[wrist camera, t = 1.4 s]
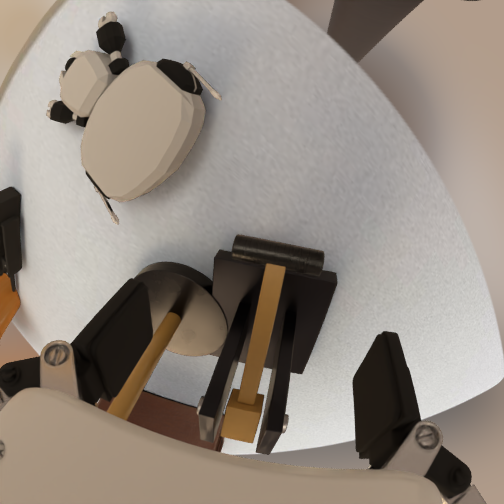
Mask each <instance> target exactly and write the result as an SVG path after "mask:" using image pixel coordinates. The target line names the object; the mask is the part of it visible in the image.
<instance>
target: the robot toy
mask: <svg viewBox="0 0 504 504" xmlns="http://www.w3.org/2000/svg"><path fill="white" fill-rule="evenodd" d="M116 21H117V16H116V14H115V13H114V12H108V13H107V14H106V17H105V16H103V17H102V18H101V19H100V20H99V22H98V27H99V29H98V31H97V32H96V33H97V38H98V43H99V47H100V48H101V49H102V50H104V51H105V52H106V53H108V54H106V53H101V52H96V51H90V50H88V51H85V52H80V51H75V52H74V53H73V54H72V55H71V56H70V57H72V58H70V59H69V60H68V61H67V63H66V66H65V70H66V71H61V74H60V78H59V82H60V86H61V92H60V97H61V99H62V101H57V100H52V101H50V102H49V104H48V107H50V110H47V114H46V115H47V116H48V117H49V118H50V119H51V120H54V121H57V122H61V123H65V124H66V123H69V122H71V121H74V120H76V125H79V126H82V127H86V128H85V131H84V134H83V138H82V143H81V160H82V166H83V167H84V168H85V170H86V175H87V176H88V178H89V179H90V180H91V182H92V183H93V184H94V188H95V190H96V192H99V194H100V196H101V198H102V200H103V202H104V204H105V206H106V207H107V209H108V211H109V213H110V215H111V219H112V221H113V222H114V223H115V224H117V225H118V224H119V219H118V217H117V215H115V214H114V212H113V210H112V208H111V206H110V204H109V202H108V200H107V199H110V198H112V199H114V200H116V201H118V202H124V201H130V200H132V199H134V198H137V197H139V196H141V195H144V194H146V193H148V192H150V191H151V190H153V189H154V188H156V187H157V186H159V185H160V184H161V183H162V182H164V181H165V180H166V179H167V178H168V177H170V176H171V175H172V174H173V173H174V172H175V171H177V170H178V169H179V167H180V166H181V164H182V162H183V161H184V159H185V158H186V156H187V155H188V153H189V152H190V150H191V148H192V147H193V145H194V143H195V141H196V140H197V138H198V136H199V134H200V132H201V129H202V126H203V123H204V117H205V111H206V109H205V107H204V104H203V102H202V99H201V96H200V95H201V93H202V91H203V89H202V87H201V84H200V82H199V80H200V81H201V82H202V83H203V84H204V85H205V86H206V88H207V89H208V90H209V91H210V92H211V94H212V95H213V96H214V97H215V98H217V99H219V100H221V101H222V98H221V95H220V94H219V93H218V92H217V91H215V90H214V89H213V88H212V87H211V86H210V85H209V84H208V83H207V82H206V81H205V80H204V79H203V78H202V77H201V76H200V75H199V74H198V73H197V72H196V71H195V69H196V68H195V67H194V66H193V65H191V64H190V63H188V62H185V63H184V64H181V63H179V62H176V61H172V60H167V59H162V60H160V61H158V62H151V61H144V60H143V61H140V62H138V63H136V64H133V65H131V66H129V62H128V60H127V59H125V58H122V56H121V50H122V48H123V45H124V43H125V40H126V39H125V35H124V31H123V27H122V25H121V24H120V23H119V22H116ZM198 79H199V80H198ZM106 198H107V199H106Z"/></svg>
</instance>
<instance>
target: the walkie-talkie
mask: <svg viewBox="0 0 504 504" xmlns="http://www.w3.org/2000/svg"><path fill="white" fill-rule="evenodd" d="M21 268H22V255H21V242H20V194H19V193H18V192H16V191H15V190H14V189H13V188H12V187H8V188H6V189H4V190H2V191H0V276H2V275H3V273H8V277H9V278H10V281H11V287H12V291H13V292H16V288H15V276H14V274H16V273H17V272H18V271H19V270H20V269H21Z"/></svg>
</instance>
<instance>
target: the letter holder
mask: <svg viewBox="0 0 504 504" xmlns="http://www.w3.org/2000/svg"><path fill="white" fill-rule="evenodd" d="M114 398H115V397H113V398H112V400H111V401H110V402H108V401H106V400H104V399H102V398H100V400H99V402H98V403H97V405H98V408H99V409H101V410H103V411H105V412H107V410H108V408H109V407H110V405H111V403H112V402H113V400H114ZM223 420H224V415H222V418H221V421H220V424H219V427H218V430H217V434H216V437H215V440H214V443H211V442H208V441H204V440H201V439H200V430H199V415H198V414H197V408H195V407H192V406H188V405H184V404H181V403H178V402H175V401H172V400H168V399H165V398H163V397H160V396H156V395H153V394H151V393H148V392H145V391H142V393H141V395H140V397H139V398H138V400H137V402H136V404H135V406H134V408H133V410H132V411H131V413H130V415H129V417H128V419H127V421H128V422H130V423H133V424H135V425H137V426H140V427H142V428H145V429H147V430H150V431H153V432H155V433H158V434H161V435H164V436H167V437H169V438H172V439H175V440H179V441H182V442H185V443H188V444H191V445H195V446H198V447H202V448H205V449H209V450H213V451H217V452H221V449H222V446H223V443H224V437H222V436H220V435H221V430H222V425H223Z"/></svg>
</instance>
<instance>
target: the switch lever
mask: <svg viewBox="0 0 504 504" xmlns="http://www.w3.org/2000/svg"><path fill="white" fill-rule="evenodd" d="M232 259H235V260H240V261H244V262H249V263H254V264H259V265H264V266H266V267H265V272H264V277H263V282H262V286H261V291H260V296H259V301H258V306H257V311H256V316H255V321H254V325H253V330H252V335H251V340H250V344H249V349H248V354H247V359H246V363H245V368H244V372H243V377H242V382H241V386H240V390H239V389H234V388H233V390H232V392H231V395H230V398H229V400H228V403H227V406H226V410H225V415H224V420H223V425H222V430H221V435H220V436H222V437H226V438H230V439H234V440H239V441H243V442H248V443H253V441H254V437H255V434H256V431H257V427H258V424H259V420H260V417H261V413H262V406H263V400H264V395H262V394H257V392H258V388H259V384H260V380H261V376H262V372H263V368H264V363H265V359H266V355H267V351H268V347H269V342H270V338H271V334H272V329H273V325H274V320H275V316H276V312H277V307H278V302H279V298H280V293H281V289H282V284H283V279H284V274H285V270H289V271H294V272H299V273H304V274H309V275H314V276H319V275H320V274H321V271H322V268H323V263H324V252H323V251H320V250H316V249H311V248H306V247H301V246H296V245H291V244H286V243H281V242H276V241H271V240H266V239H261V238H255V237H250V236H245V235H240V234H237V235H236V237H235V239H234V243H233V247H232Z"/></svg>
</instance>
